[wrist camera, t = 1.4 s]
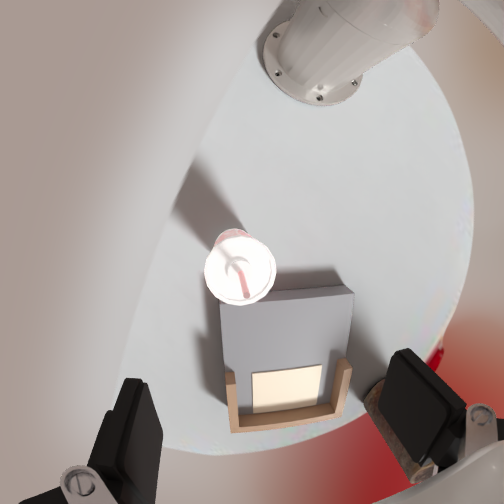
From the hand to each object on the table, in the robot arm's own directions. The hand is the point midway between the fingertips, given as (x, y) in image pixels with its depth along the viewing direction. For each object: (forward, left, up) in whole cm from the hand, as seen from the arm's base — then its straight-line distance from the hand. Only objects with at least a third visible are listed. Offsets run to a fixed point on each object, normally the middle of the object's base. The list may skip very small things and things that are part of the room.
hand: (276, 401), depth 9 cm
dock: (+15, +6, -24) cm, 29 cm away
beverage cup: (0, 0, -24) cm, 24 cm away
